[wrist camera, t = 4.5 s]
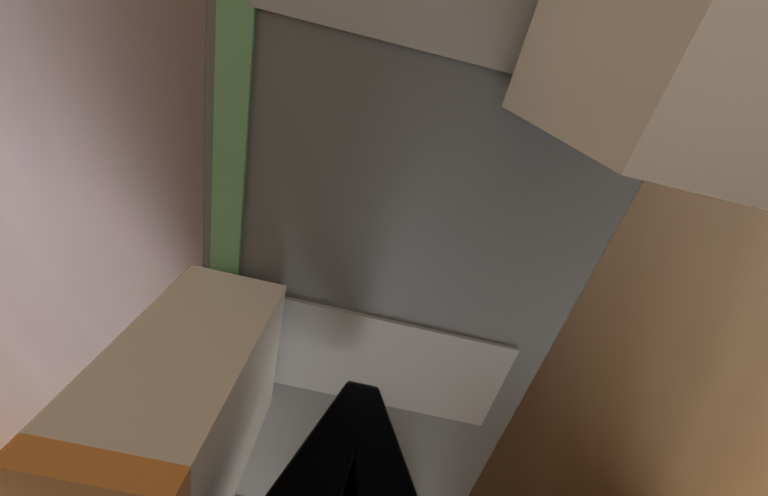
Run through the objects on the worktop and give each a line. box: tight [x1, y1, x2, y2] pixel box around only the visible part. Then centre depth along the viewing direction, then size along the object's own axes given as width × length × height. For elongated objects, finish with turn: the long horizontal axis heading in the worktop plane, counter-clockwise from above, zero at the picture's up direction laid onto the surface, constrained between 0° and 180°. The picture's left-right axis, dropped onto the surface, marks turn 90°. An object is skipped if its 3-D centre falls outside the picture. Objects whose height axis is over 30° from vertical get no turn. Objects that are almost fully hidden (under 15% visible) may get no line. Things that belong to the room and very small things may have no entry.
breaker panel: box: [203, 0, 643, 496], centre depth 10 cm, size 8×22×2 cm, turn 167°
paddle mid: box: [0, 265, 286, 496], centre depth 7 cm, size 2×4×4 cm, turn 167°
